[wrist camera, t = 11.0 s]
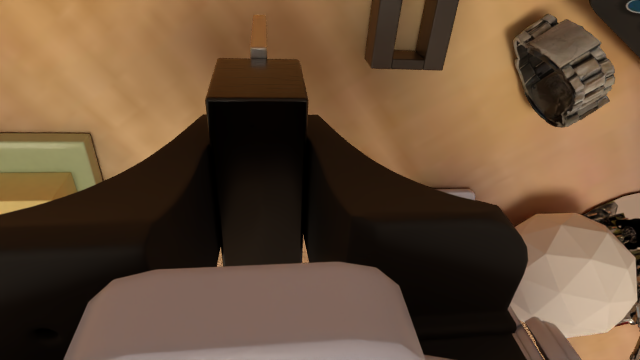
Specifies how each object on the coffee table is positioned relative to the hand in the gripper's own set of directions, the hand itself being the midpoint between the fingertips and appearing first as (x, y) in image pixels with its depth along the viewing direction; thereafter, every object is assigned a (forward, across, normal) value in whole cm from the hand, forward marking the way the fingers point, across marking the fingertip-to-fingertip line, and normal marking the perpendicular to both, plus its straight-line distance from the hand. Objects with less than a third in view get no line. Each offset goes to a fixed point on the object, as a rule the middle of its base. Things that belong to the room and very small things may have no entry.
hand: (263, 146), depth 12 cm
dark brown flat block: (+3, 0, 0) cm, 3 cm away
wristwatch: (+10, -15, 0) cm, 18 cm away
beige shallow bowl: (+10, -27, +17) cm, 33 cm away
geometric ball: (+9, -16, +12) cm, 22 cm away
